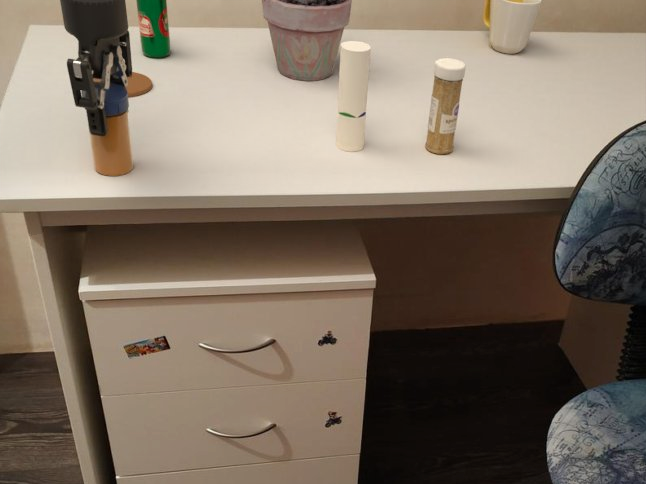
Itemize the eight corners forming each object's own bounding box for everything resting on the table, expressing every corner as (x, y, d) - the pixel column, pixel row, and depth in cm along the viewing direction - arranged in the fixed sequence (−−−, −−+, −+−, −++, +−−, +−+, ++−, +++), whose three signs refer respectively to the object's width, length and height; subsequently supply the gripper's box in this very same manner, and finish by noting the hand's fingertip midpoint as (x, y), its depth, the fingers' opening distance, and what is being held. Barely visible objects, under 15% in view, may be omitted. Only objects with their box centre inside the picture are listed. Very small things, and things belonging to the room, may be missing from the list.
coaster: (115, 102, 129) (114, 98, 128) (76, 83, 133) (76, 80, 132) (164, 87, 135) (164, 84, 135) (126, 70, 139) (126, 66, 139)
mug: (539, 57, 164) (551, 2, 157) (494, 58, 161) (504, 3, 154) (510, 34, 173) (520, -18, 167) (467, 35, 170) (475, -18, 163)
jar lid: (138, 108, 107) (136, 95, 105) (100, 119, 103) (98, 105, 102) (112, 92, 109) (110, 78, 108) (74, 102, 106) (72, 88, 104)
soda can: (136, 51, 146) (128, -20, 138) (161, 47, 149) (155, -23, 141) (151, 60, 143) (144, -12, 135) (176, 56, 146) (170, -15, 138)
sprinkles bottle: (450, 157, 125) (463, 70, 116) (421, 152, 125) (432, 64, 116) (455, 145, 128) (468, 59, 119) (427, 140, 129) (438, 54, 120)
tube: (332, 140, 125) (336, 41, 116) (357, 138, 127) (364, 40, 117) (341, 152, 123) (346, 52, 113) (367, 150, 124) (375, 50, 114)
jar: (110, 180, 110) (101, 109, 103) (86, 165, 112) (75, 95, 105) (141, 168, 113) (134, 99, 106) (117, 153, 115) (109, 84, 108)
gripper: (97, 11, 91) (116, 150, 102) (143, -21, 102) (156, 108, 113) (33, 2, 91) (59, 142, 102) (86, -29, 102) (104, 100, 113)
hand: (110, 123), depth 107 cm, fingers open, 6 cm apart
